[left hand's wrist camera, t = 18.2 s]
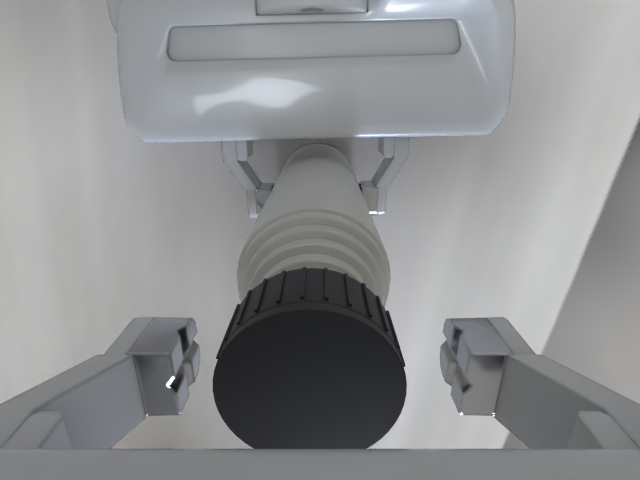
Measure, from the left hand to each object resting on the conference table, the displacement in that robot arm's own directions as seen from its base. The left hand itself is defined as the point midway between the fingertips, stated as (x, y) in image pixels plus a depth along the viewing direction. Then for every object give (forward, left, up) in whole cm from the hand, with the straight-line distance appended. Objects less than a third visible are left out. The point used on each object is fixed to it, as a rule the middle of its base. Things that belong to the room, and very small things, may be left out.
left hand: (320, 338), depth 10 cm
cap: (0, 0, +2) cm, 2 cm away
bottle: (0, 0, -19) cm, 19 cm away
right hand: (-1, +1, -14) cm, 14 cm away
